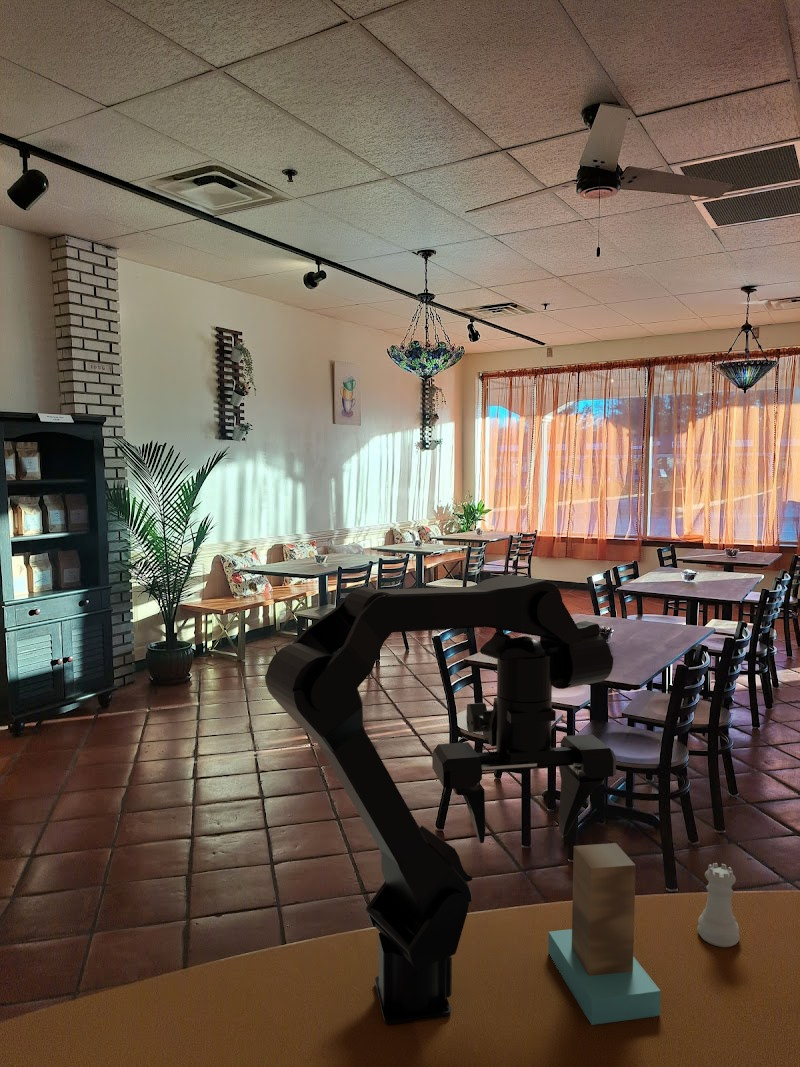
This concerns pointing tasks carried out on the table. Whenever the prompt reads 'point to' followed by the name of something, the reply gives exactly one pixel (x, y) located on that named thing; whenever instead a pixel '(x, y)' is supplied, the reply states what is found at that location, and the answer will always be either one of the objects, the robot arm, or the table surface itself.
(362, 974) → the table surface
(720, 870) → the rook chess piece
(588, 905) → the tan wooden block
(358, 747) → the robot arm
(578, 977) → the base block
